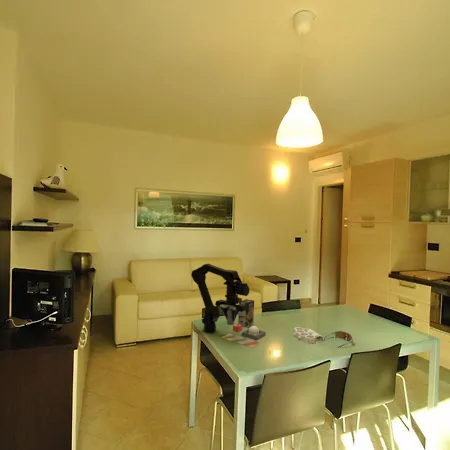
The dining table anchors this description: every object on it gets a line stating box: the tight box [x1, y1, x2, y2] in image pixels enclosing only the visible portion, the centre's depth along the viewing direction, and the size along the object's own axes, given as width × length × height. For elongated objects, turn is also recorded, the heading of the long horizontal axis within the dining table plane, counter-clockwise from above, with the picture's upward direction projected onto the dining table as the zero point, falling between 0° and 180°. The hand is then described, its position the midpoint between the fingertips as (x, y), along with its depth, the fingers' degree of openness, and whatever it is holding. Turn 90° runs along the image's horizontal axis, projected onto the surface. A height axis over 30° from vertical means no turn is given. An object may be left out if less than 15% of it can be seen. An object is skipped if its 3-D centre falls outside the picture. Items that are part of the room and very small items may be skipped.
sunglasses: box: [322, 330, 354, 349], centre depth 176 cm, size 14×15×5 cm
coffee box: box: [237, 298, 255, 329], centre depth 198 cm, size 9×6×16 cm
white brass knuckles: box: [293, 326, 324, 344], centre depth 182 cm, size 3×18×15 cm
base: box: [241, 328, 266, 341], centre depth 179 cm, size 10×10×3 cm
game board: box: [220, 333, 261, 348], centre depth 171 cm, size 22×10×1 cm, turn 54°
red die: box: [232, 323, 243, 333], centre depth 187 cm, size 4×4×4 cm
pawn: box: [226, 308, 235, 326], centre depth 175 cm, size 5×5×9 cm
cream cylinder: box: [248, 325, 260, 335], centre depth 179 cm, size 6×6×6 cm
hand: (230, 320), depth 175 cm, fingers closed on pawn, 4 cm apart
